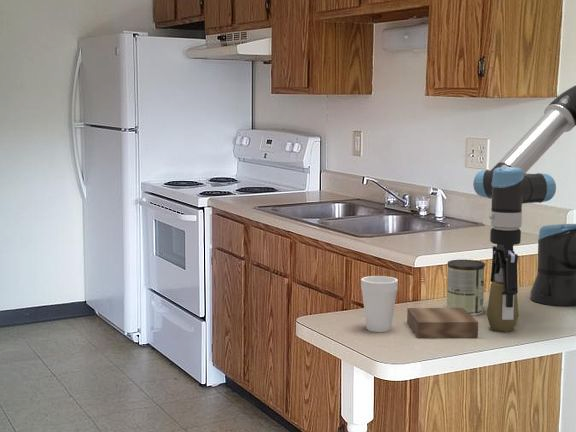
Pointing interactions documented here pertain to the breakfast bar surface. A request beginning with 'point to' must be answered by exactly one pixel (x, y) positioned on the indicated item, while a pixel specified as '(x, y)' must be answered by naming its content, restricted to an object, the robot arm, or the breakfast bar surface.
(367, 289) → the foam cup
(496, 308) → the squeeze bottle
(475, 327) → the walnut base
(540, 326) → the breakfast bar surface
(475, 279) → the coffee can
